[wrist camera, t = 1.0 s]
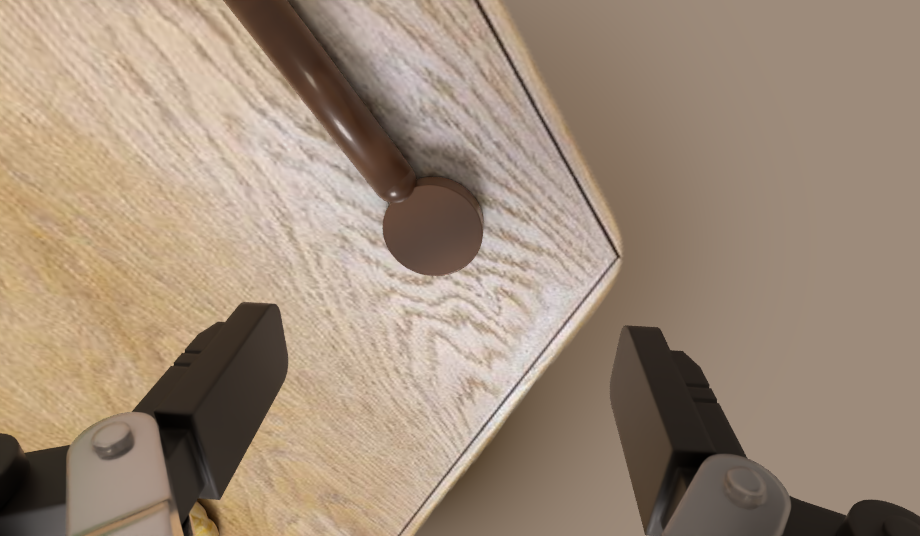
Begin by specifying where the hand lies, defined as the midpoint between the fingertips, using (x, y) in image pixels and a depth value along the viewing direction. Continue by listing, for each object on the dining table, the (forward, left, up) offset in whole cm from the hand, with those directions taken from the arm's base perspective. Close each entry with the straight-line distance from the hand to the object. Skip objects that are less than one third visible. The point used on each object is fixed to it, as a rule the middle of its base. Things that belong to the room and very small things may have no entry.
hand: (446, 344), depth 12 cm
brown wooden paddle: (0, -6, -14) cm, 15 cm away
